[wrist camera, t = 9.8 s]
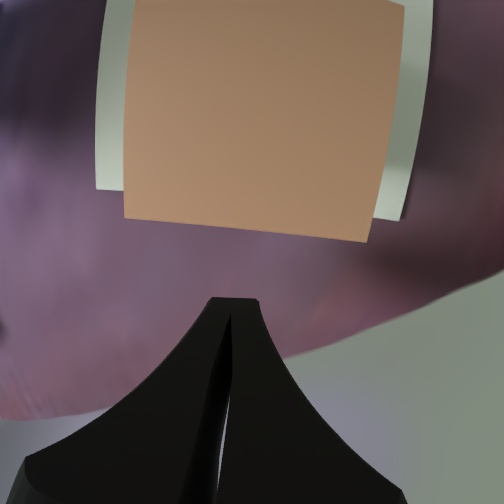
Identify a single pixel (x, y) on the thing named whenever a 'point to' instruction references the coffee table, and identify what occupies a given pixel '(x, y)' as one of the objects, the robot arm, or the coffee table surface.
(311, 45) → the terracotta block
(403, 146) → the grey mat
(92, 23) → the coffee table surface
